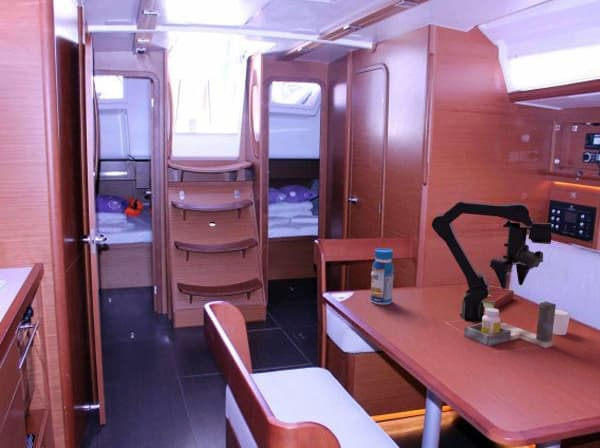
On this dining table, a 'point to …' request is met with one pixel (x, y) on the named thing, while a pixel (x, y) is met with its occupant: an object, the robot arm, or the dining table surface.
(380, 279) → the beverage bottle
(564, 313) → the shot glass
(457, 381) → the dining table surface
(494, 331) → the supplement bottle
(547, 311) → the tray with upright post
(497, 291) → the hardcover book
